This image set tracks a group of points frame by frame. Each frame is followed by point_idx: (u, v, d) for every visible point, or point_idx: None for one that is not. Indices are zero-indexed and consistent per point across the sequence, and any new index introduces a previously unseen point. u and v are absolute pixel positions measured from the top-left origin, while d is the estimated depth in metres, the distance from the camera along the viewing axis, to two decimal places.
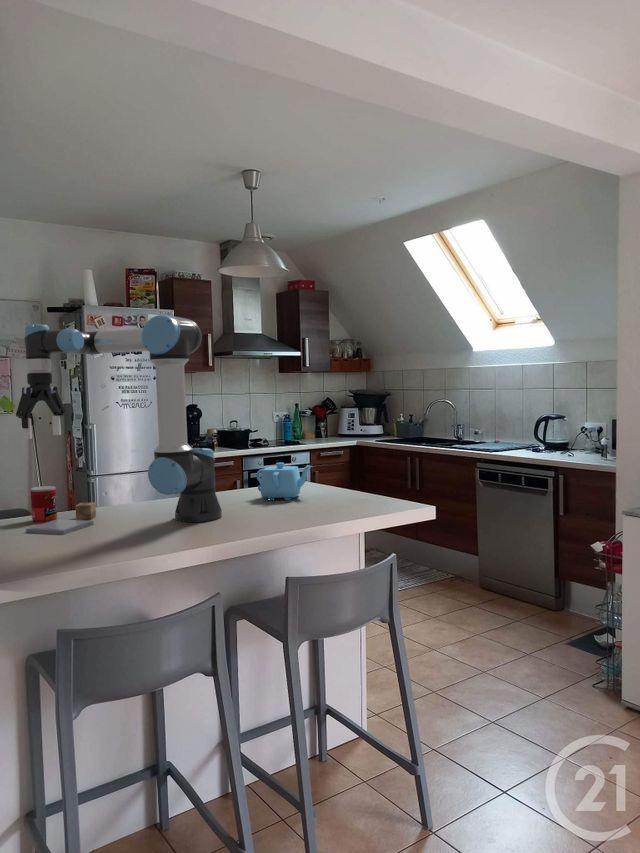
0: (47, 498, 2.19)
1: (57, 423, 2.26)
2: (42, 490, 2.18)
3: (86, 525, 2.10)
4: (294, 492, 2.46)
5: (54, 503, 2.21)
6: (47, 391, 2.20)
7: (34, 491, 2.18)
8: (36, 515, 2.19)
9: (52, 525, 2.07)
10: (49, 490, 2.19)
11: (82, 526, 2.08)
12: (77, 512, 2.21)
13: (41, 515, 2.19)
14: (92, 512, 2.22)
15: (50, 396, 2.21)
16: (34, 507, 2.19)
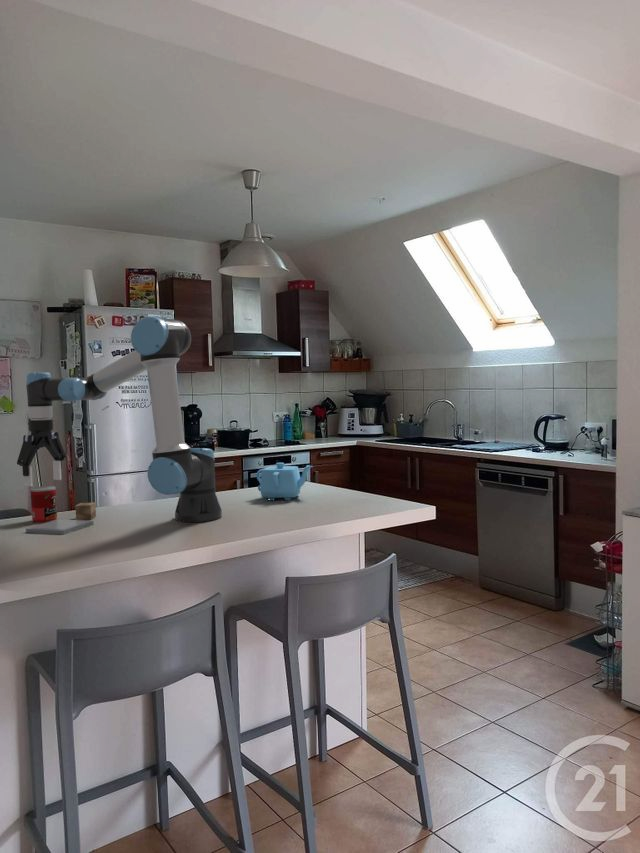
0: (47, 498, 2.19)
1: (58, 468, 2.28)
2: (42, 490, 2.18)
3: (86, 525, 2.10)
4: (294, 492, 2.46)
5: (54, 503, 2.21)
6: (48, 438, 2.21)
7: (34, 491, 2.18)
8: (36, 515, 2.19)
9: (52, 525, 2.07)
10: (49, 490, 2.19)
11: (82, 526, 2.08)
12: (77, 512, 2.21)
13: (41, 515, 2.19)
14: (92, 512, 2.22)
15: (51, 442, 2.23)
16: (34, 507, 2.19)
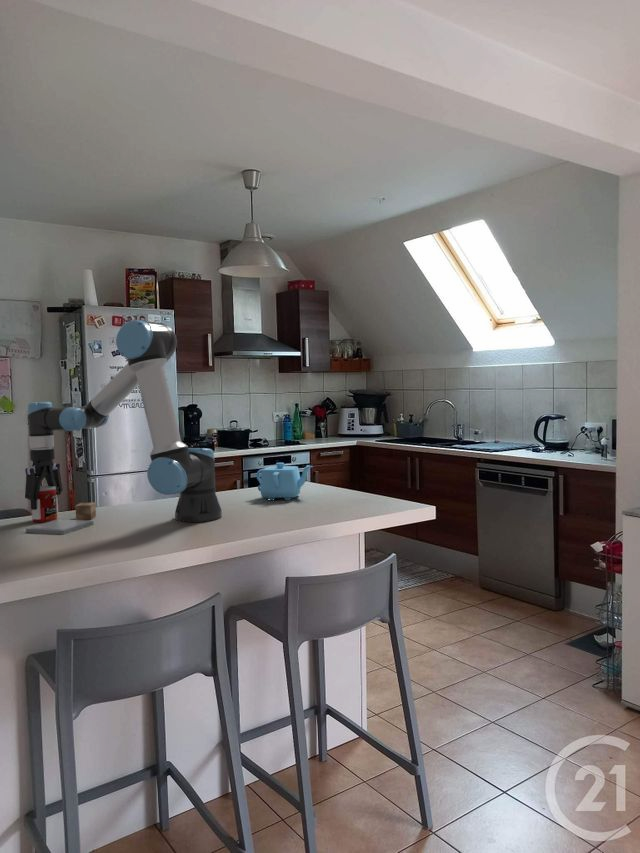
0: (47, 498, 2.19)
1: None
2: (42, 490, 2.18)
3: (86, 525, 2.10)
4: (294, 492, 2.46)
5: (54, 503, 2.21)
6: (50, 467, 2.22)
7: None
8: None
9: (52, 525, 2.07)
10: (49, 490, 2.19)
11: (82, 526, 2.08)
12: (77, 512, 2.21)
13: (42, 515, 2.19)
14: (92, 512, 2.22)
15: (51, 472, 2.23)
16: None
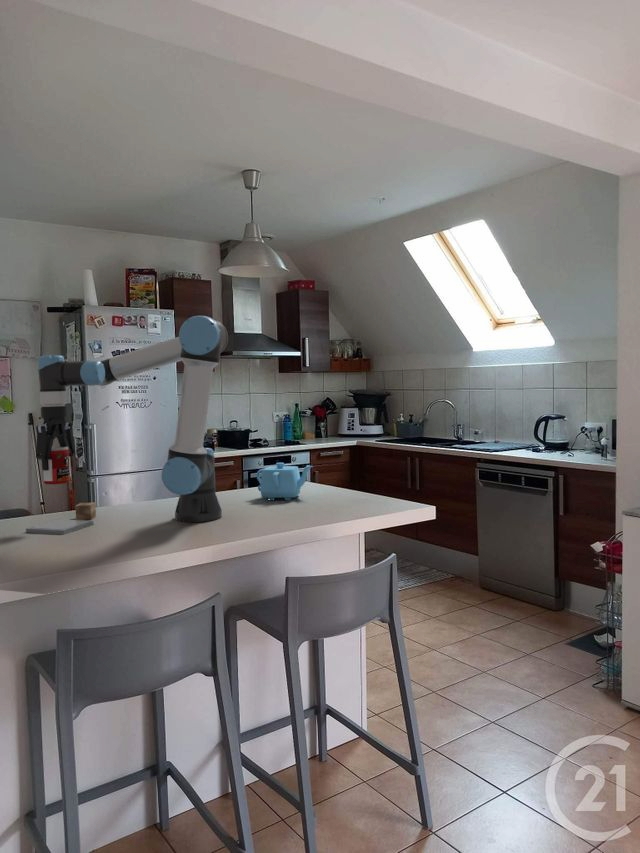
0: (59, 458, 2.04)
1: None
2: (54, 449, 2.04)
3: (86, 525, 2.10)
4: (294, 492, 2.46)
5: (67, 464, 2.07)
6: (62, 425, 2.07)
7: None
8: None
9: (52, 525, 2.07)
10: (62, 450, 2.05)
11: (82, 526, 2.08)
12: (77, 513, 2.21)
13: (54, 476, 2.04)
14: (92, 512, 2.22)
15: (64, 432, 2.08)
16: None
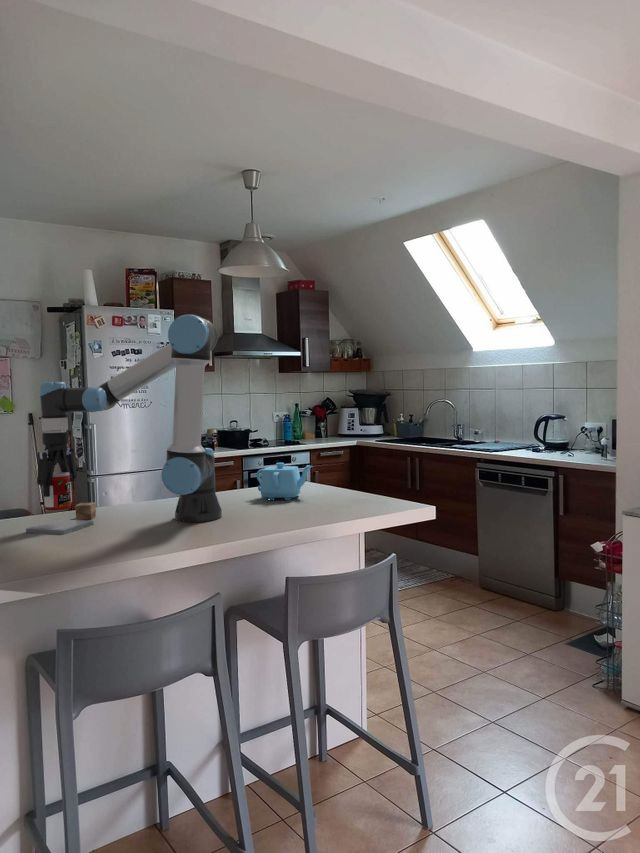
0: (60, 484, 2.05)
1: None
2: (55, 476, 2.04)
3: (86, 525, 2.10)
4: (294, 492, 2.46)
5: (68, 490, 2.07)
6: (63, 451, 2.08)
7: None
8: None
9: (52, 525, 2.07)
10: (63, 476, 2.05)
11: (82, 526, 2.08)
12: (77, 512, 2.21)
13: (55, 502, 2.05)
14: (92, 512, 2.22)
15: (65, 457, 2.09)
16: None
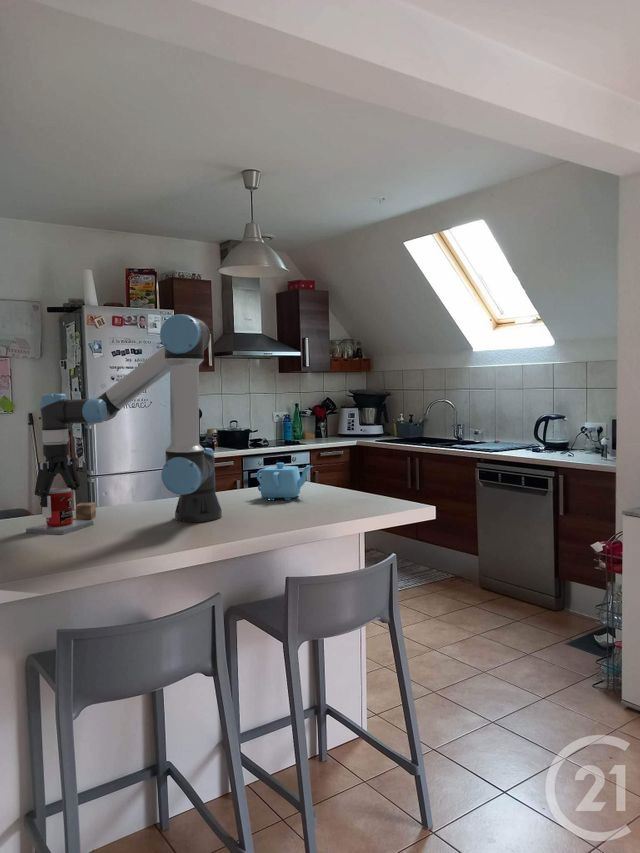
0: (62, 500, 2.05)
1: (72, 498, 2.13)
2: (57, 492, 2.05)
3: (86, 525, 2.10)
4: (294, 492, 2.46)
5: (70, 506, 2.08)
6: (64, 463, 2.08)
7: (49, 493, 2.05)
8: (51, 519, 2.05)
9: None
10: (65, 492, 2.06)
11: (82, 526, 2.08)
12: (77, 512, 2.21)
13: (57, 518, 2.05)
14: (92, 512, 2.22)
15: (66, 468, 2.09)
16: None
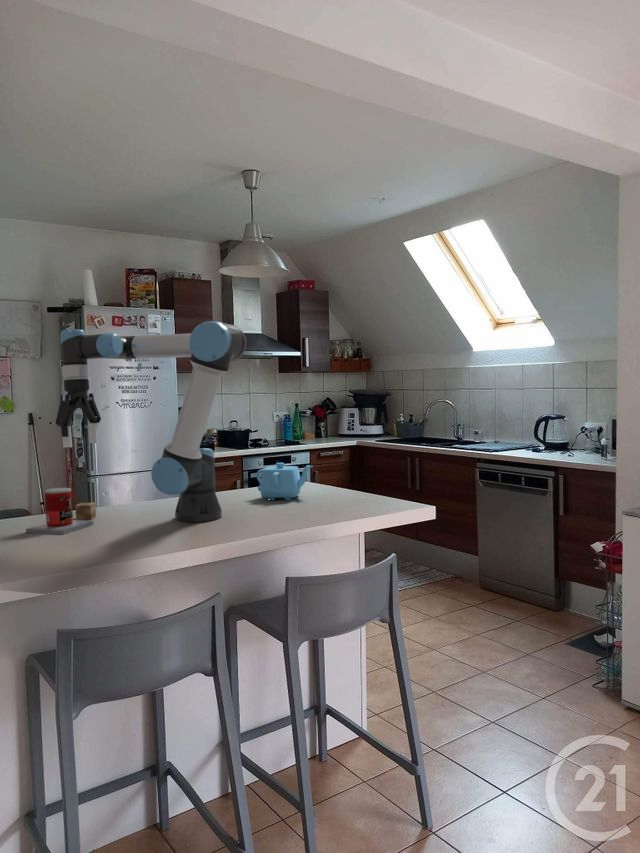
0: (62, 500, 2.05)
1: (94, 431, 2.19)
2: (57, 492, 2.05)
3: (86, 525, 2.10)
4: (294, 492, 2.46)
5: (70, 506, 2.08)
6: (84, 398, 2.13)
7: (49, 493, 2.05)
8: (51, 519, 2.05)
9: None
10: (65, 492, 2.06)
11: (82, 526, 2.08)
12: (77, 513, 2.21)
13: (57, 518, 2.05)
14: (92, 512, 2.22)
15: (87, 403, 2.15)
16: (49, 510, 2.05)
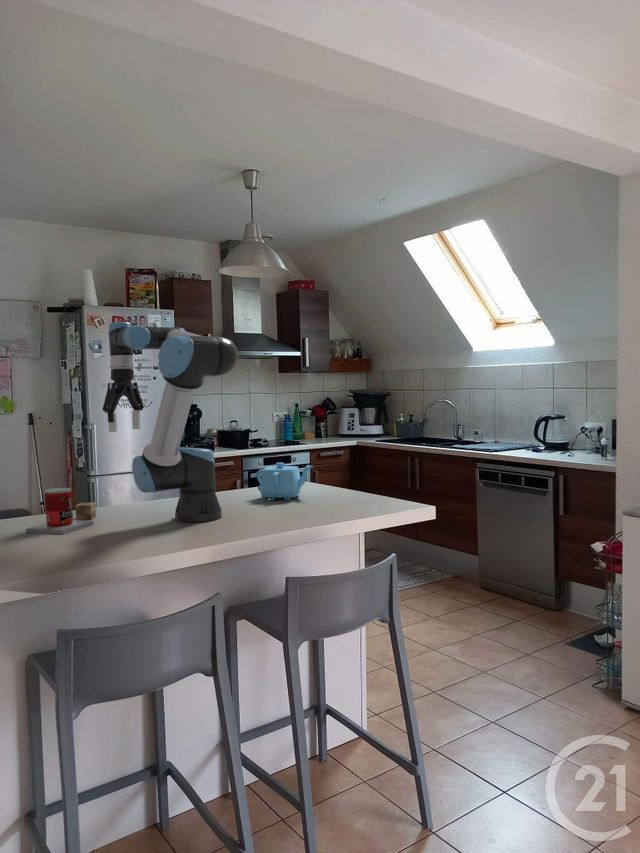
0: (62, 500, 2.05)
1: (137, 417, 2.34)
2: (57, 492, 2.05)
3: (86, 525, 2.10)
4: (294, 492, 2.46)
5: (70, 506, 2.08)
6: (129, 386, 2.27)
7: (49, 493, 2.05)
8: (51, 519, 2.05)
9: None
10: (65, 492, 2.06)
11: (82, 526, 2.08)
12: (77, 513, 2.21)
13: (57, 518, 2.05)
14: (92, 512, 2.22)
15: (132, 391, 2.29)
16: (49, 510, 2.05)
